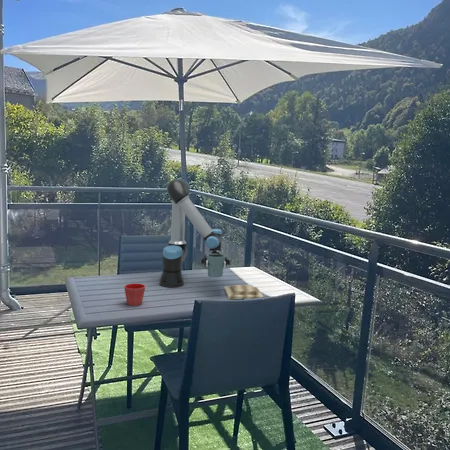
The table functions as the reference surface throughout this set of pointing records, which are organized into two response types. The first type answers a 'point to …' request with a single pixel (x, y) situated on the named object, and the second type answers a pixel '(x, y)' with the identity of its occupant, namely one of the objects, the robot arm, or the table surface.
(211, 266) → the blue-grey embossed cup
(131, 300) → the flower pot
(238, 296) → the stepped square base
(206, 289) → the table surface
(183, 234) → the robot arm
